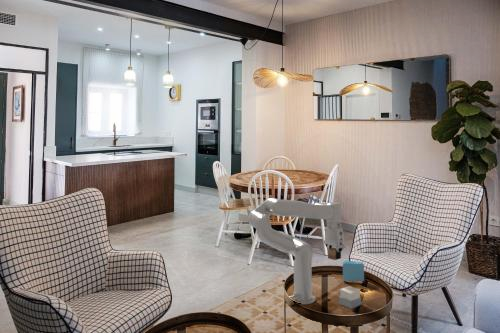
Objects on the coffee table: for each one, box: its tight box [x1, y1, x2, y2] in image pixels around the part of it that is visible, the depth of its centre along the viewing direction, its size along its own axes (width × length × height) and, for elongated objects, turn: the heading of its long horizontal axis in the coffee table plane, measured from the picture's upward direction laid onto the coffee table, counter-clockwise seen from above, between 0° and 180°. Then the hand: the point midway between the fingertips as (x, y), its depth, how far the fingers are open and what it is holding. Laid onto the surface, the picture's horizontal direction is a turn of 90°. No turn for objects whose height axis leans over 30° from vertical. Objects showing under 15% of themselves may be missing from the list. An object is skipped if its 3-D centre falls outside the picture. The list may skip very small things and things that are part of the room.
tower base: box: [338, 296, 362, 310], centre depth 193 cm, size 8×8×4 cm
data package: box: [342, 260, 365, 282], centre depth 223 cm, size 12×4×12 cm, turn 75°
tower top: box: [339, 285, 361, 301], centre depth 193 cm, size 7×7×4 cm
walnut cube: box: [327, 247, 338, 261], centre depth 206 cm, size 5×5×5 cm
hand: (334, 257), depth 206 cm, fingers closed on walnut cube, 4 cm apart
